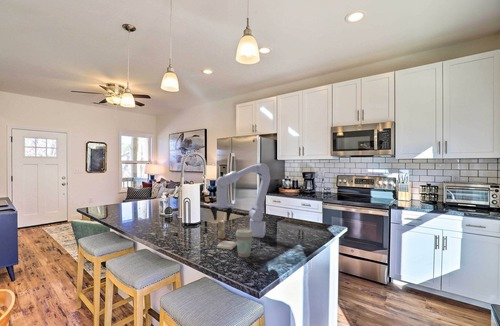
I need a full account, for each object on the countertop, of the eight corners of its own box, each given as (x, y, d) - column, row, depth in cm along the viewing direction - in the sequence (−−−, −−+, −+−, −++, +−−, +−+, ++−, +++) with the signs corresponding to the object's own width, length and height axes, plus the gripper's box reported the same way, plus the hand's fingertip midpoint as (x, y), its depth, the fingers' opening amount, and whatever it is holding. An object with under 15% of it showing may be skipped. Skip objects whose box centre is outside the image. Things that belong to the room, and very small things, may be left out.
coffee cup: (231, 254, 117) (231, 230, 117) (244, 250, 123) (244, 226, 123) (243, 260, 111) (243, 234, 111) (256, 255, 117) (256, 230, 117)
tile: (236, 242, 131) (231, 247, 124) (236, 245, 131) (231, 250, 124) (223, 240, 134) (217, 245, 126) (223, 243, 134) (217, 248, 126)
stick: (224, 237, 143) (224, 220, 143) (222, 238, 141) (223, 221, 140) (219, 236, 144) (220, 220, 144) (218, 238, 141) (218, 221, 141)
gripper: (235, 196, 144) (235, 219, 144) (212, 195, 148) (212, 217, 148) (232, 198, 137) (231, 222, 137) (208, 197, 141) (207, 220, 141)
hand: (221, 220), depth 142 cm, fingers open, 7 cm apart
